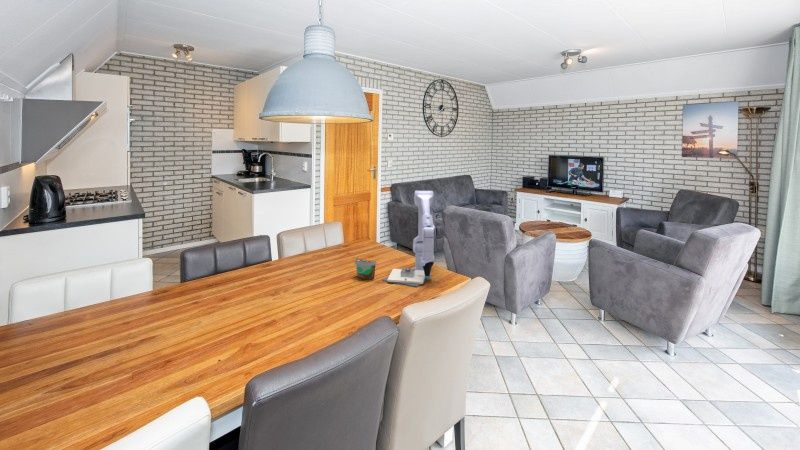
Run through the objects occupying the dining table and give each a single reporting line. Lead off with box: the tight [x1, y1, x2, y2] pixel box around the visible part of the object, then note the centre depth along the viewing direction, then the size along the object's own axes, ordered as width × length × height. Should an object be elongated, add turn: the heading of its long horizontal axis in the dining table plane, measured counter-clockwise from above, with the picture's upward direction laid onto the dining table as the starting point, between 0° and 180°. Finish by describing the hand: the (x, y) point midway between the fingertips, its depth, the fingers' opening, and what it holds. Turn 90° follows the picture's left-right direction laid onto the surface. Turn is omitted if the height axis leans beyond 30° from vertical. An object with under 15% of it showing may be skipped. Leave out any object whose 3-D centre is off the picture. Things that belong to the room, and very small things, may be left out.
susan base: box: [382, 275, 428, 288], centre depth 212 cm, size 19×19×1 cm
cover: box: [401, 267, 415, 277], centre depth 212 cm, size 6×6×4 cm
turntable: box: [386, 268, 432, 285], centre depth 212 cm, size 18×21×4 cm
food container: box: [354, 257, 377, 281], centre depth 210 cm, size 12×6×10 cm, turn 62°
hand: (427, 275), depth 208 cm, fingers closed
